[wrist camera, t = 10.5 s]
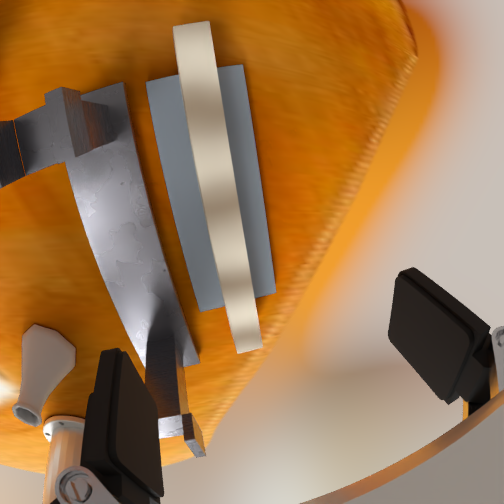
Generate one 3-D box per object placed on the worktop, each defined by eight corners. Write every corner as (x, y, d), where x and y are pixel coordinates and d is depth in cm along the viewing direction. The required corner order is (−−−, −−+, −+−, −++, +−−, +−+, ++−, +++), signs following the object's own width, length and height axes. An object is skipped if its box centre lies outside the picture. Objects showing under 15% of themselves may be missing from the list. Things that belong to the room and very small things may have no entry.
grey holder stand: (198, 355, 33) (218, 461, 21) (148, 366, 32) (150, 471, 20) (125, 83, 20) (72, 47, 8) (58, 106, 19) (-38, 105, 7)
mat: (273, 287, 31) (276, 292, 30) (199, 306, 30) (200, 312, 29) (240, 66, 22) (242, 64, 21) (146, 83, 20) (145, 82, 20)
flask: (67, 379, 30) (53, 445, 21) (17, 351, 27) (-8, 414, 18) (85, 345, 29) (68, 417, 20) (30, 312, 26) (-4, 378, 17)
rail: (255, 328, 31) (262, 347, 29) (231, 334, 31) (237, 353, 28) (205, 32, 19) (209, 20, 16) (172, 37, 19) (172, 26, 16)
